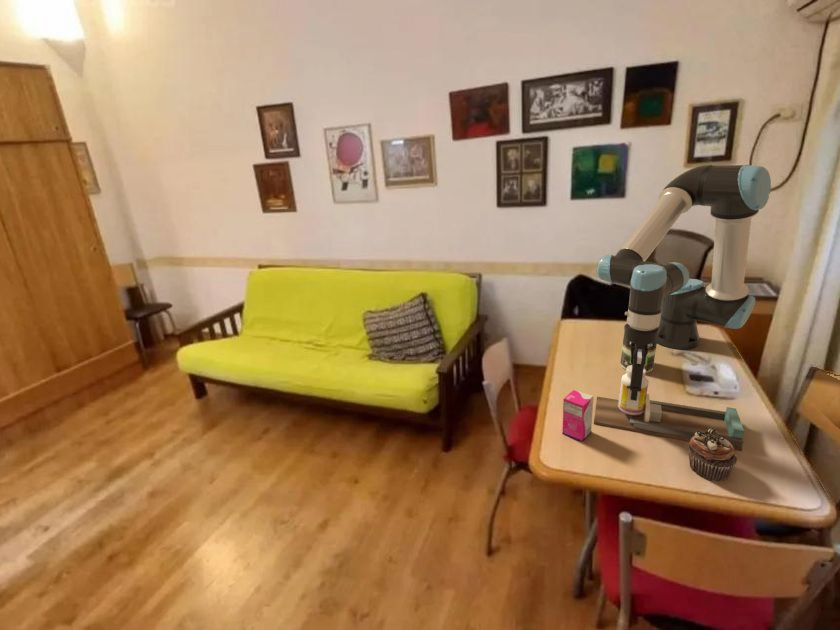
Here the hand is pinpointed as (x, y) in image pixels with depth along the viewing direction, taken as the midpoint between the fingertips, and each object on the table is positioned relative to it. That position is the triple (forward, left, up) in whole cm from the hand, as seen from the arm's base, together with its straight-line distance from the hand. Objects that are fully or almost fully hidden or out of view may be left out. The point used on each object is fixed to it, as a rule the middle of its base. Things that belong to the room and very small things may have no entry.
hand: (632, 400), depth 121 cm
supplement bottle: (0, 0, -3) cm, 3 cm away
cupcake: (+16, +17, -5) cm, 24 cm away
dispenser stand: (0, +9, -5) cm, 10 cm away
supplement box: (+12, -13, -5) cm, 19 cm away
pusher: (0, +5, -4) cm, 7 cm away
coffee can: (-31, +2, -5) cm, 31 cm away
